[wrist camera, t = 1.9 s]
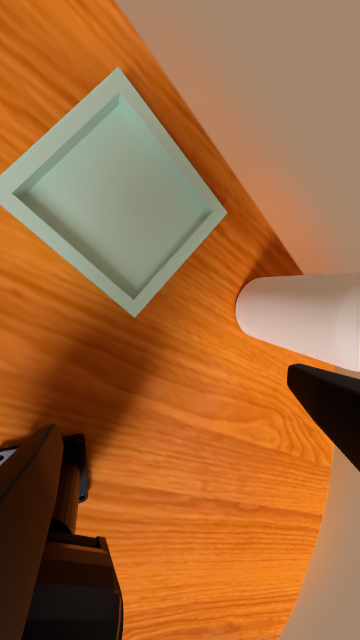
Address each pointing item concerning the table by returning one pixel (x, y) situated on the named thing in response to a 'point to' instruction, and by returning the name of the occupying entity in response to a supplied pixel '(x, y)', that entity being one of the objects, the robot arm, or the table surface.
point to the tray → (113, 194)
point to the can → (306, 315)
